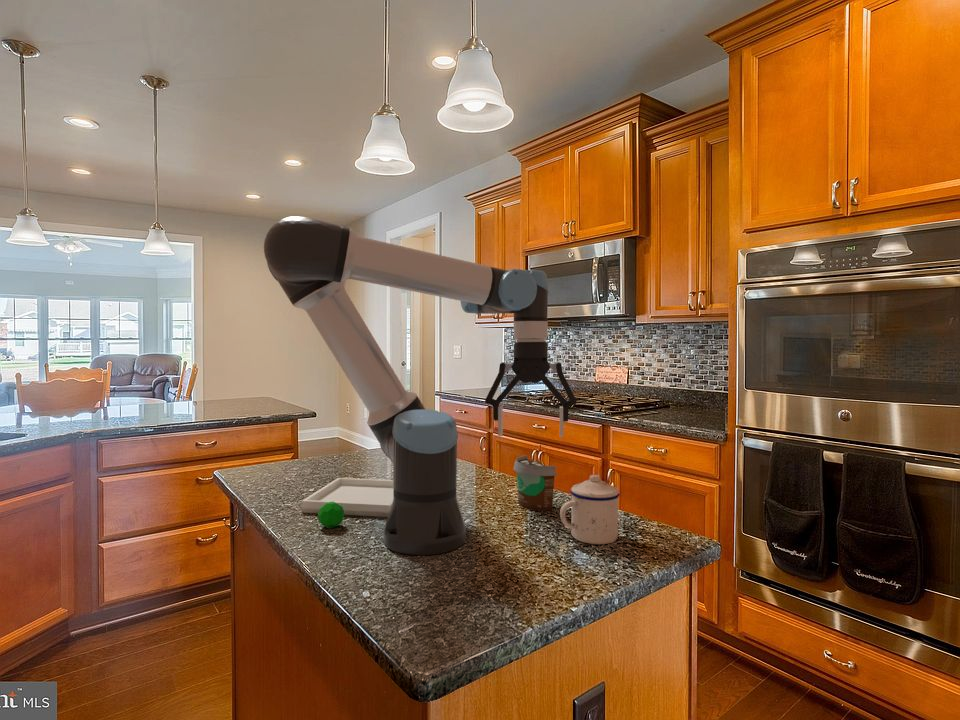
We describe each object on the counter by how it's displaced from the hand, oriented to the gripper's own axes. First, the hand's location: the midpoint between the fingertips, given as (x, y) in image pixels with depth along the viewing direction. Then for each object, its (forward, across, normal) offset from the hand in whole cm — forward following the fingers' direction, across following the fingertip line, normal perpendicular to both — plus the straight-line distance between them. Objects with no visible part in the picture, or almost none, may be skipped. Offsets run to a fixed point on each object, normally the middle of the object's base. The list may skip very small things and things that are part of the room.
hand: (530, 435), depth 120 cm
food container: (+16, 0, 0) cm, 16 cm away
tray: (+15, +38, +3) cm, 41 cm away
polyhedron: (+16, +38, +20) cm, 46 cm away
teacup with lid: (+16, -12, +18) cm, 27 cm away
